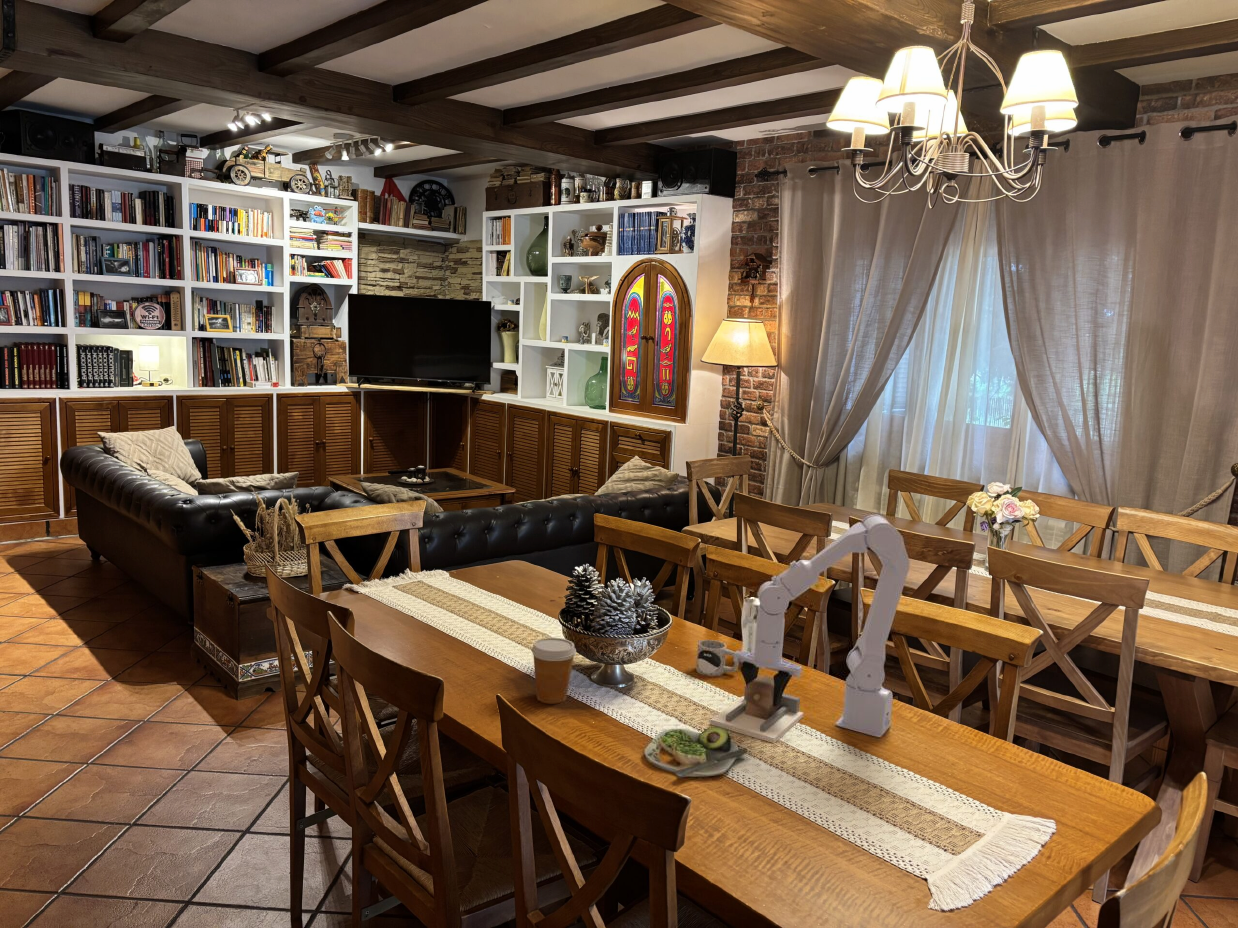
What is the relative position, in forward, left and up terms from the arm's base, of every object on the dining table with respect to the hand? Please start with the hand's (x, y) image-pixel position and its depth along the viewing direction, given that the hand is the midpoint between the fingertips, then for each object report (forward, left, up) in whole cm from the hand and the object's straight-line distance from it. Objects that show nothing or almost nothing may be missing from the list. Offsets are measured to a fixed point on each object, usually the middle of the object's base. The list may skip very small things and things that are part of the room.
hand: (764, 701), depth 192 cm
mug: (+19, -17, -4) cm, 26 cm away
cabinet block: (0, 0, -2) cm, 2 cm away
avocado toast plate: (+3, +26, -4) cm, 26 cm away
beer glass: (+16, -31, -3) cm, 35 cm away
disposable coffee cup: (+40, +21, -3) cm, 45 cm away
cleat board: (0, +3, -3) cm, 4 cm away
